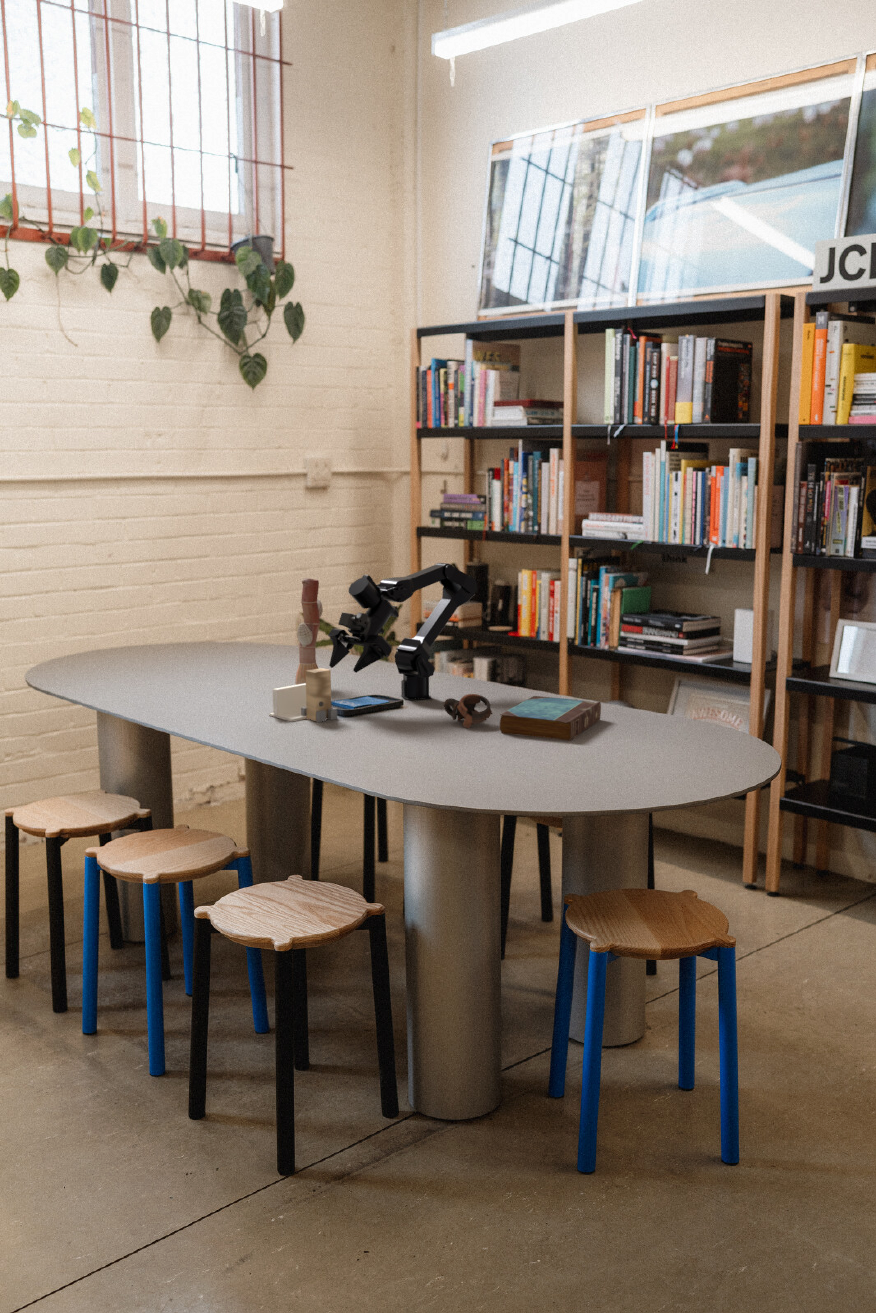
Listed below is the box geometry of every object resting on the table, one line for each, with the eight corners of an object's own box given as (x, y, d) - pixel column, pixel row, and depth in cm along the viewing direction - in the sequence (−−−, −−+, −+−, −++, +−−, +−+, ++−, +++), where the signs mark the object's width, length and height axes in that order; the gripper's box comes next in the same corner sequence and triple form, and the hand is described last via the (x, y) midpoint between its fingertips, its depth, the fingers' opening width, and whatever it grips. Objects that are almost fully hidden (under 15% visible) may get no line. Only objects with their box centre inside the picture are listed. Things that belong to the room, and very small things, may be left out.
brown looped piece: (491, 721, 288) (497, 696, 283) (482, 746, 281) (488, 721, 276) (445, 707, 290) (449, 682, 285) (434, 731, 283) (439, 706, 277)
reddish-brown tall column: (305, 689, 325) (302, 581, 319) (288, 685, 330) (285, 579, 324) (333, 683, 332) (331, 577, 327) (316, 680, 337) (314, 575, 332)
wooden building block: (322, 715, 293) (321, 668, 291) (332, 717, 291) (331, 670, 288) (306, 718, 290) (305, 670, 288) (316, 721, 287) (315, 672, 285)
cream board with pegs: (313, 706, 303) (312, 680, 302) (350, 715, 293) (349, 688, 291) (269, 715, 293) (268, 688, 292) (305, 725, 283) (305, 696, 282)
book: (570, 743, 267) (571, 721, 266) (498, 735, 274) (498, 714, 273) (600, 721, 287) (601, 701, 286) (532, 715, 294) (533, 695, 293)
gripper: (332, 597, 301) (300, 645, 295) (381, 603, 288) (348, 654, 282) (356, 623, 308) (325, 671, 302) (405, 631, 295) (374, 681, 289)
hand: (342, 669), depth 294 cm, fingers open, 9 cm apart
